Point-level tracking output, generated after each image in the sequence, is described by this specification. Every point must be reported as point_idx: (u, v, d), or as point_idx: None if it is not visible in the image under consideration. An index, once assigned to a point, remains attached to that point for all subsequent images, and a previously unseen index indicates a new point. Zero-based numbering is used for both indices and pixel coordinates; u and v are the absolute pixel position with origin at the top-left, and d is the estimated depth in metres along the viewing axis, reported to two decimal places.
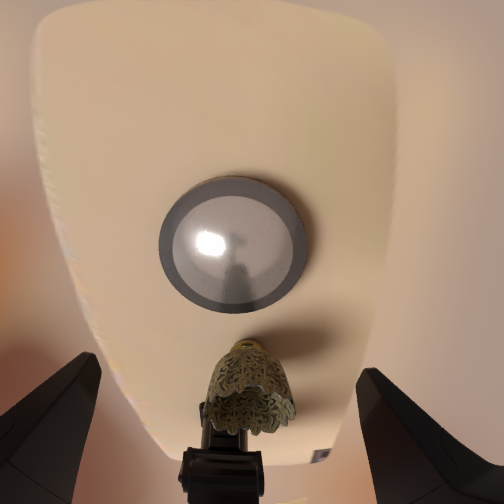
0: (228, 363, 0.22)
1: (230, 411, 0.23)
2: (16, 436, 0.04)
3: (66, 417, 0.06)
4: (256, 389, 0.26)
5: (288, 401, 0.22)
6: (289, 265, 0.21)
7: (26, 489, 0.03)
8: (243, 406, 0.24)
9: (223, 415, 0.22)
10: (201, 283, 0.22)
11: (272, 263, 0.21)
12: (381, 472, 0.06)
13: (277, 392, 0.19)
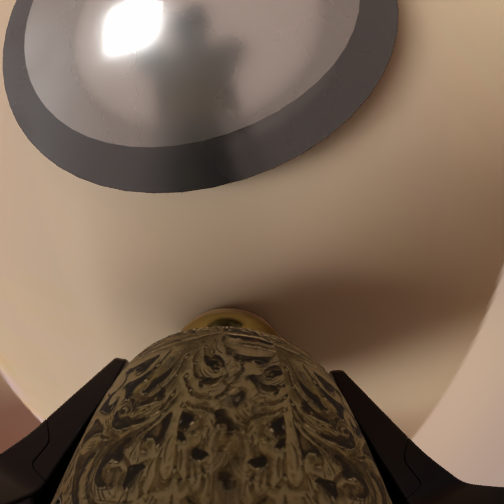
0: (132, 381, 0.05)
1: None
2: (52, 453, 0.04)
3: None
4: None
5: None
6: (354, 13, 0.04)
7: None
8: None
9: None
10: (73, 87, 0.05)
11: None
12: None
13: None
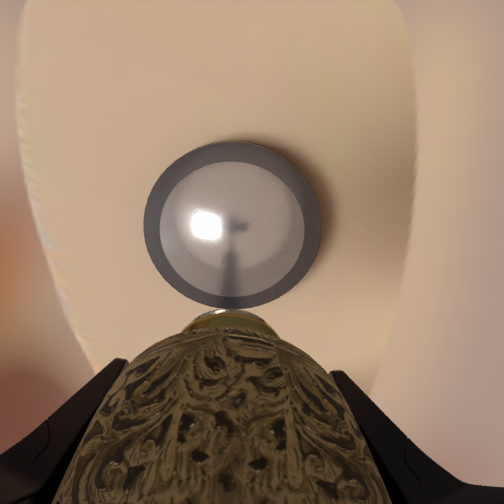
0: (132, 382, 0.05)
1: None
2: (52, 453, 0.04)
3: None
4: None
5: None
6: (300, 248, 0.18)
7: None
8: None
9: None
10: (194, 272, 0.18)
11: (279, 245, 0.17)
12: None
13: None
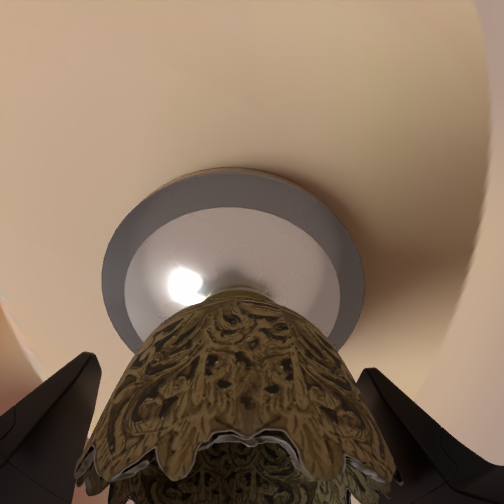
0: (160, 339, 0.06)
1: (191, 474, 0.07)
2: (16, 436, 0.04)
3: (66, 417, 0.06)
4: None
5: None
6: (330, 328, 0.12)
7: (26, 489, 0.03)
8: (226, 459, 0.08)
9: (170, 485, 0.07)
10: None
11: None
12: None
13: (363, 460, 0.03)
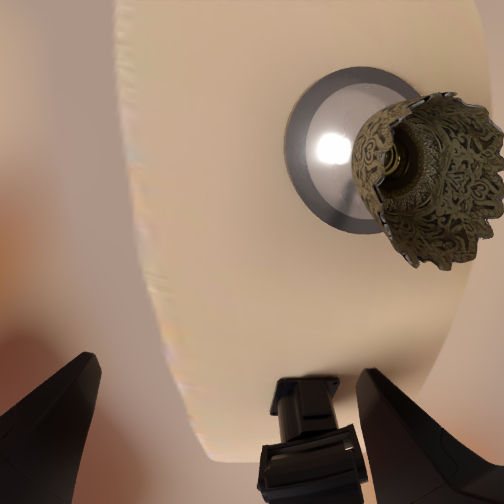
0: (392, 104, 0.10)
1: (390, 231, 0.12)
2: (16, 436, 0.04)
3: (66, 417, 0.06)
4: (406, 212, 0.14)
5: (480, 192, 0.10)
6: None
7: (26, 489, 0.03)
8: (402, 231, 0.13)
9: None
10: (334, 189, 0.17)
11: None
12: (381, 472, 0.06)
13: (491, 122, 0.08)
